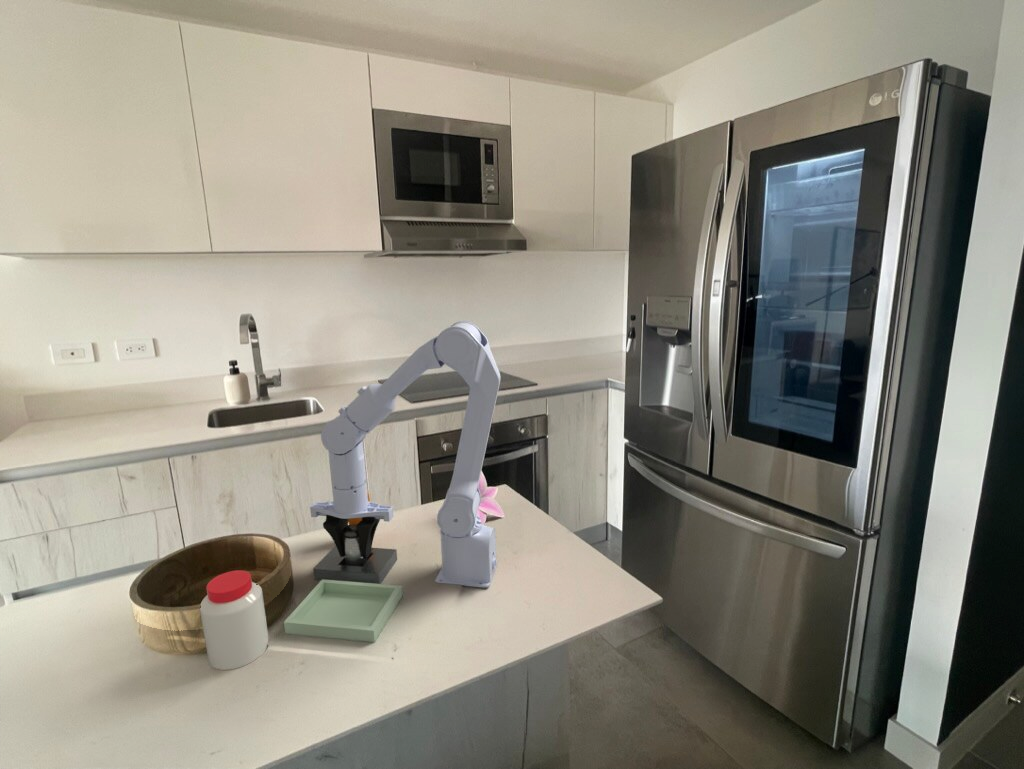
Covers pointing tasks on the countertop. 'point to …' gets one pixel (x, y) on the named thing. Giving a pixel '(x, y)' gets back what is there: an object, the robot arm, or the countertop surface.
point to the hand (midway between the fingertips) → (355, 554)
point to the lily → (488, 501)
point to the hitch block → (356, 567)
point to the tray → (344, 611)
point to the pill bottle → (234, 620)
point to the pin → (352, 546)
